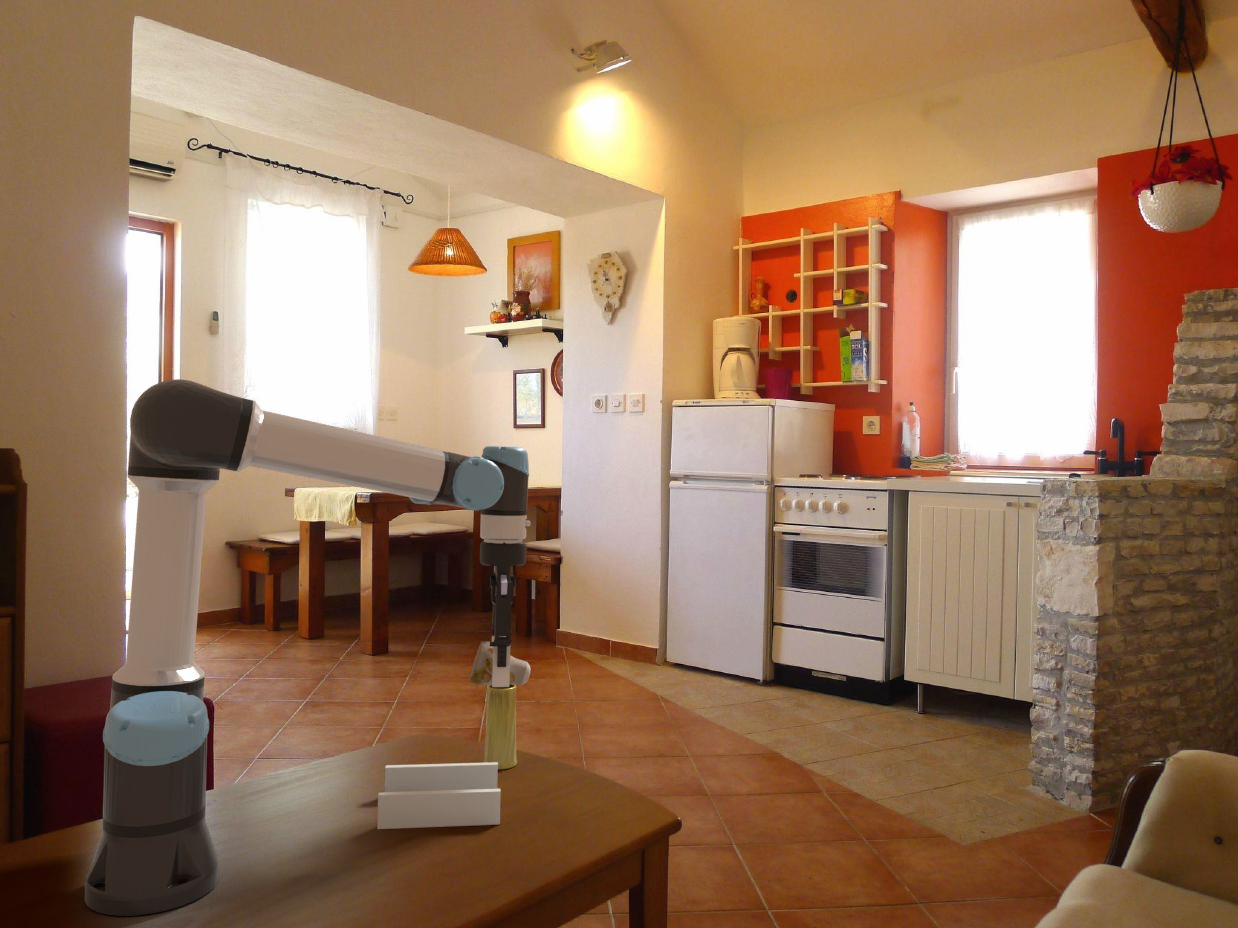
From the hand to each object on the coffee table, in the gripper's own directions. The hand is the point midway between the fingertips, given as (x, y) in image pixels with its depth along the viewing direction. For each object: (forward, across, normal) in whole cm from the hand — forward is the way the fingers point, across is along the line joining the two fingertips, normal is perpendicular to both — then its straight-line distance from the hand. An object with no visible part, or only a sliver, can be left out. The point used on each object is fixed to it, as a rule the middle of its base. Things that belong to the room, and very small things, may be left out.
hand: (499, 680), depth 152 cm
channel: (+19, -5, +9) cm, 22 cm away
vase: (+19, +16, -1) cm, 25 cm away
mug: (+1, 0, 0) cm, 1 cm away
